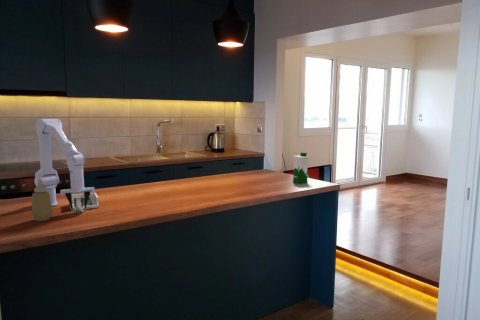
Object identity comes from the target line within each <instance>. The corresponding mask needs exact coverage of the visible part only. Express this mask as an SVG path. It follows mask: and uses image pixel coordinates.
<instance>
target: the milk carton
mask: <svg viewBox="0 0 480 320" xmlns="http://www.w3.org/2000/svg"><path fill="white" fill-rule="evenodd" d="M309 158H310V156H309V155H308V154H307V152H300V155H298V154H297V155H293V157H292V159H293V174H292V175H293V176H292V178H293V179H292V183H295V184H298V185H301V184H308V169H309V167H308V165H309V164H308V163H309Z"/></svg>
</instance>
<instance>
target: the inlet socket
mask: <svg viewBox="0 0 480 320" xmlns="http://www.w3.org/2000/svg"><path fill="white" fill-rule="evenodd" d="M82 201H83V206H84V201H85V199H84V198H82ZM88 205H92V199H91V198H88V201H87V206H88Z"/></svg>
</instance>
